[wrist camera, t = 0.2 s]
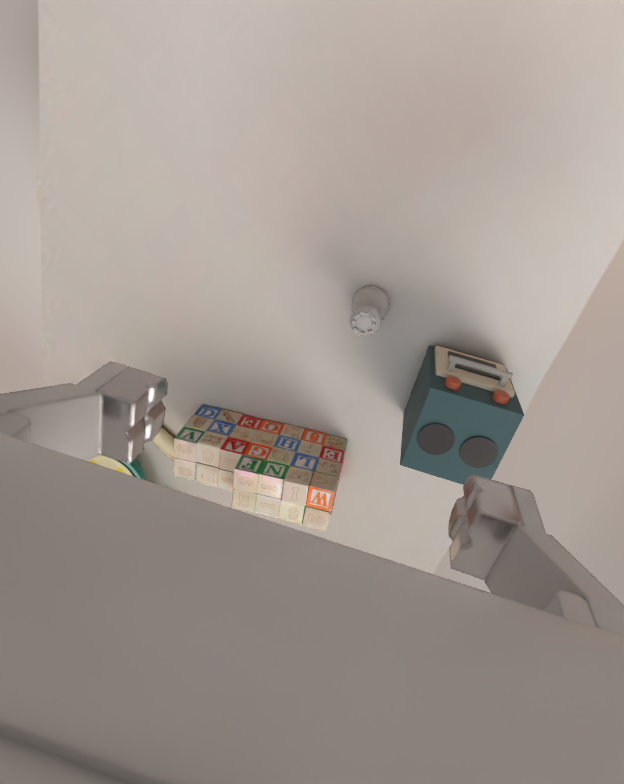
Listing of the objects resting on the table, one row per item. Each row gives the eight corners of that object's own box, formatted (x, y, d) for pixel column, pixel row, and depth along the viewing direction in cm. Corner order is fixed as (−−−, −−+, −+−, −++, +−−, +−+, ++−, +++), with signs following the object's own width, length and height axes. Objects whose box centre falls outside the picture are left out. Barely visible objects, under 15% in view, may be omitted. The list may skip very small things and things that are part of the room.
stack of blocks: (200, 439, 74) (161, 490, 63) (202, 403, 71) (162, 449, 60) (341, 474, 72) (326, 533, 61) (349, 438, 69) (335, 493, 58)
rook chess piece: (380, 278, 59) (374, 296, 51) (395, 312, 60) (392, 334, 53) (346, 294, 60) (335, 314, 53) (362, 327, 62) (354, 350, 54)
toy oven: (435, 328, 60) (437, 368, 49) (514, 350, 59) (534, 396, 48) (403, 413, 66) (399, 466, 55) (475, 435, 65) (485, 492, 54)
